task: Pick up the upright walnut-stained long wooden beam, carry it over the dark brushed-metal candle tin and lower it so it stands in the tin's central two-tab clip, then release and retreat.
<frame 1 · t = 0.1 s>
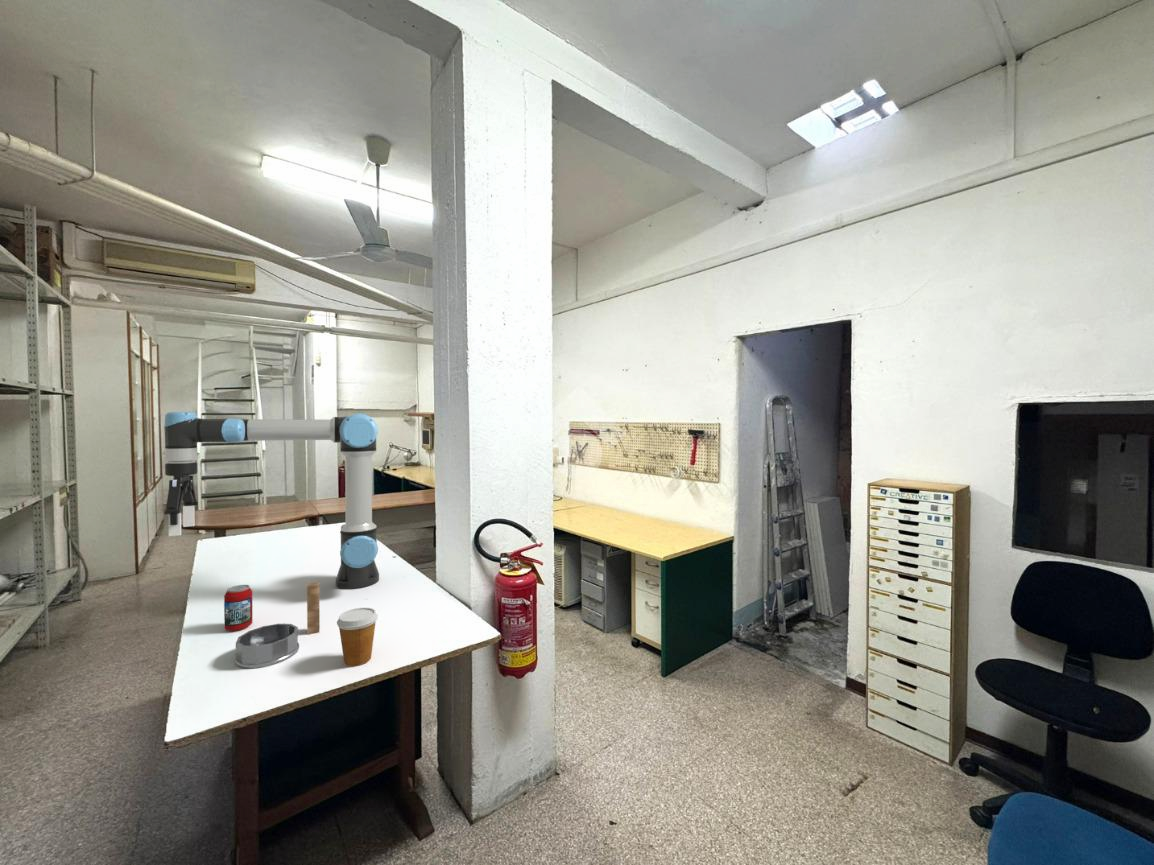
hand: (182, 530, 140), 28 cm above the table, fingers open, 13 cm apart
beverage can: (238, 628, 136), on the table
disposable coffee cup: (357, 660, 117), on the table
tin: (268, 654, 120), on the table
long wooden beam: (313, 631, 133), on the table
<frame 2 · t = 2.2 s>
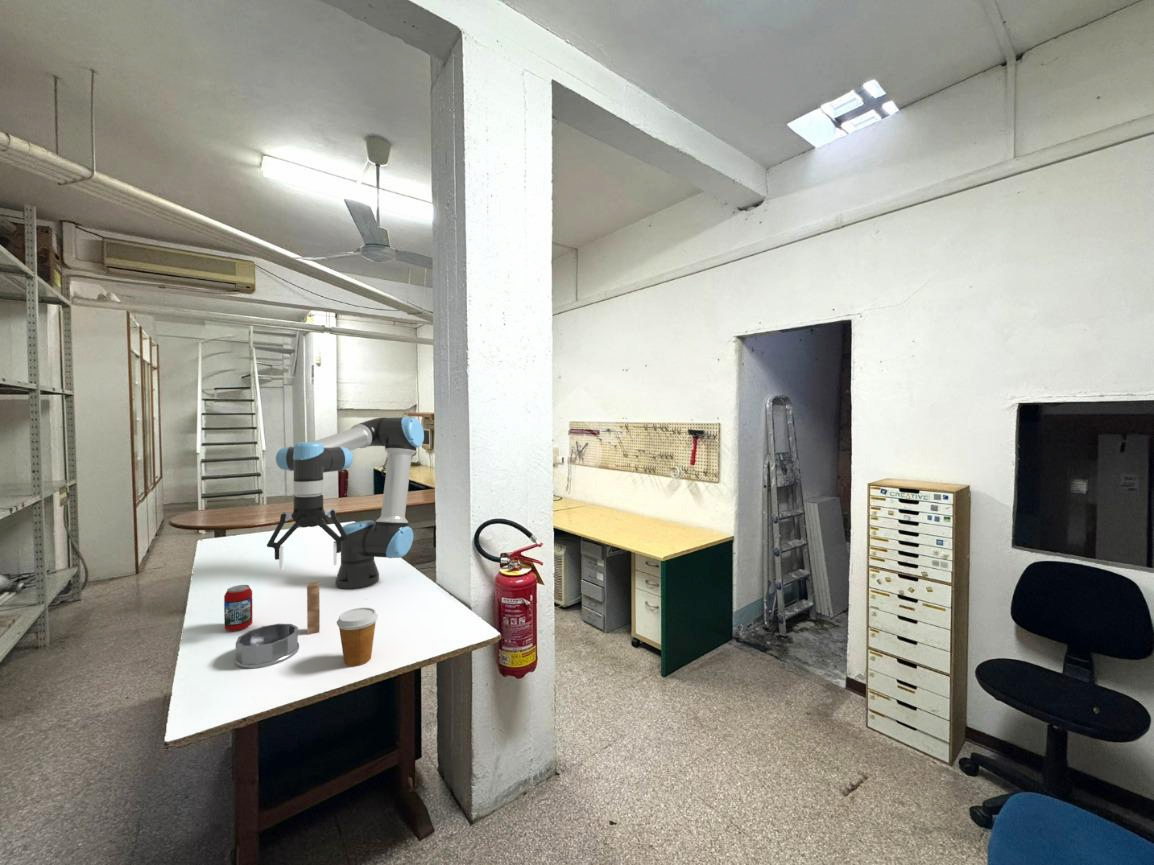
hand: (308, 567, 133), 19 cm above the table, fingers open, 13 cm apart
nothing on the table moved.
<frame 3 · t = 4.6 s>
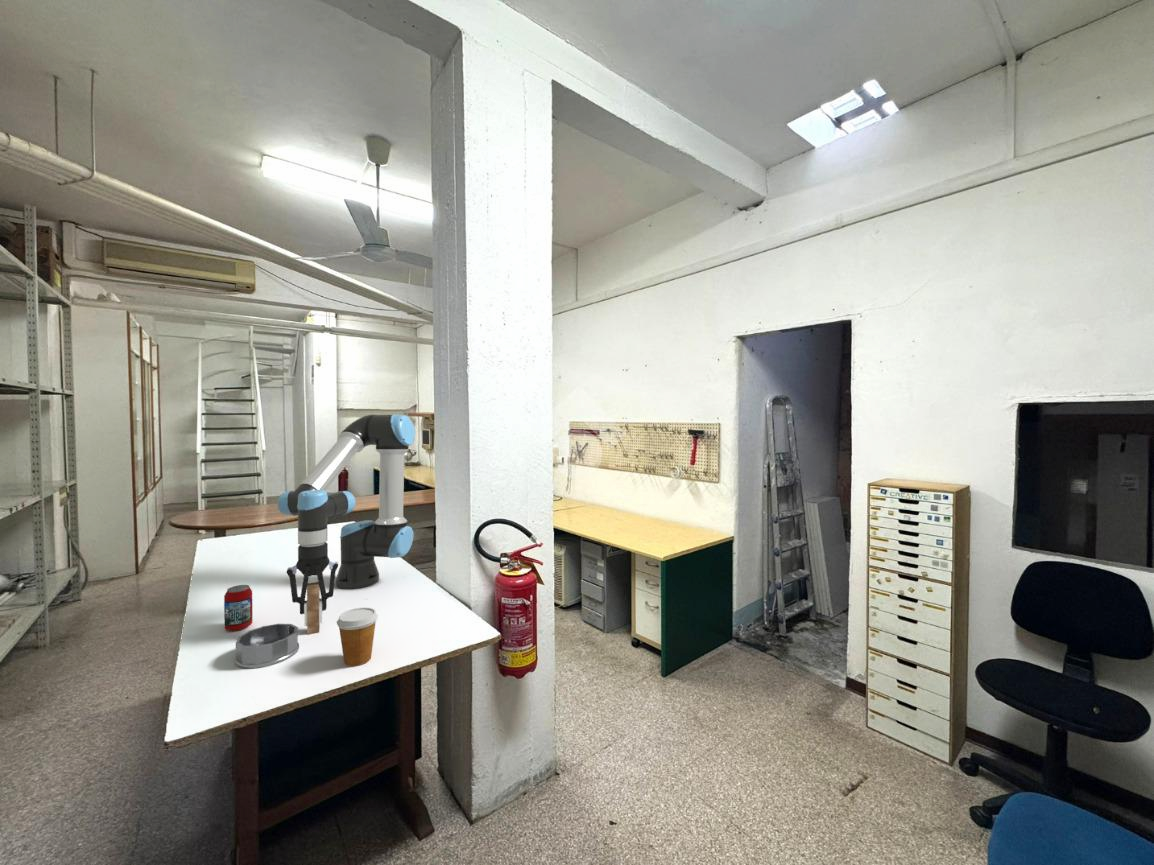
hand: (313, 622, 133), 3 cm above the table, fingers closed on long wooden beam, 3 cm apart
long wooden beam: (313, 631, 133), on the table, touching gripper
everything else where it was.
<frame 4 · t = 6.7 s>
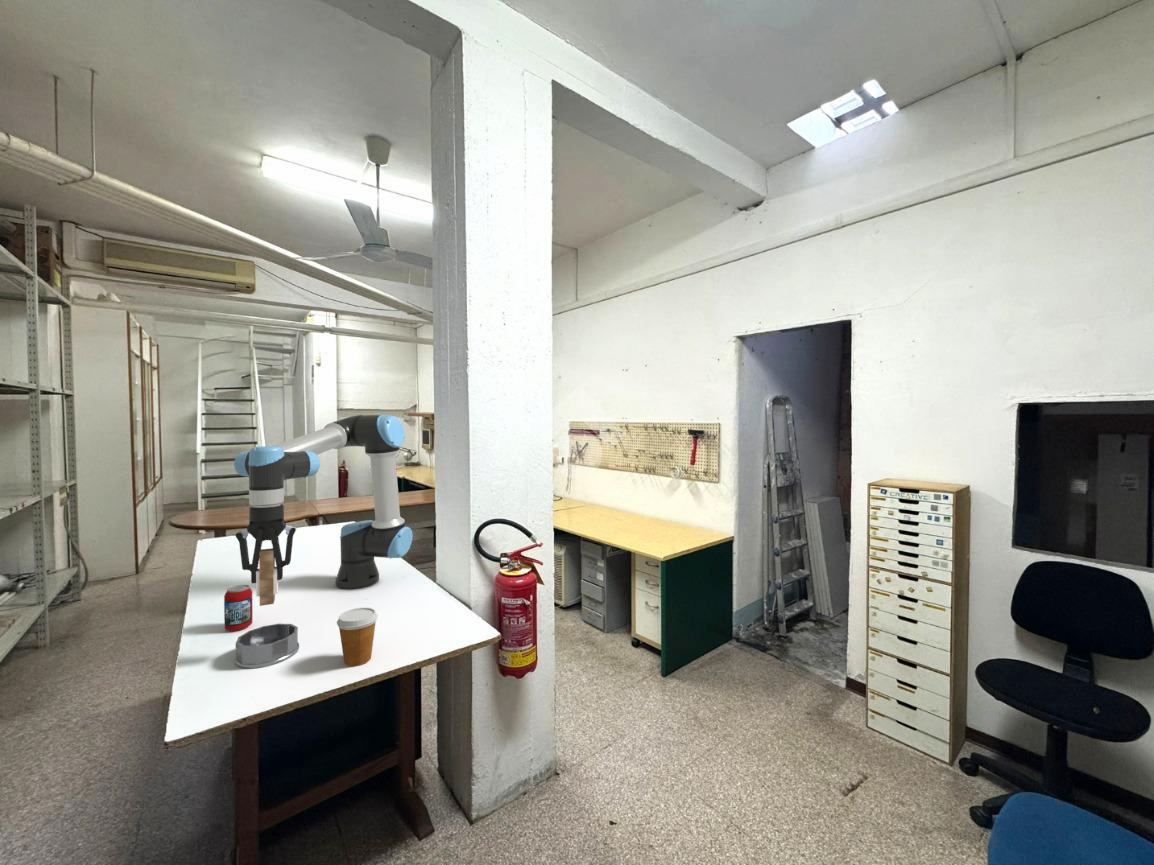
hand: (267, 593, 120), 16 cm above the table, fingers closed on long wooden beam, 3 cm apart
long wooden beam: (267, 602, 120), point 14 cm above the table, touching gripper
everything else where it was.
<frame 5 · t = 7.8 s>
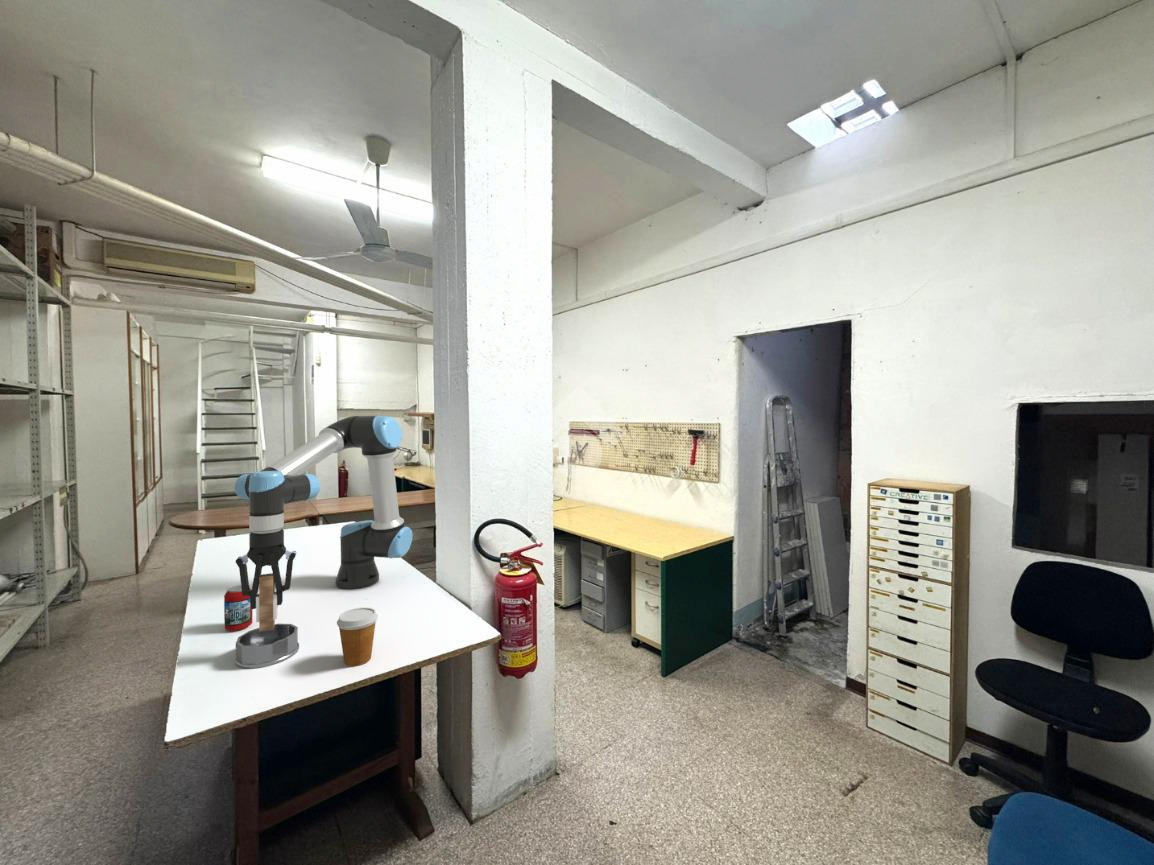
hand: (267, 618, 120), 10 cm above the table, fingers closed on long wooden beam, 3 cm apart
long wooden beam: (267, 628, 120), point 7 cm above the table, touching gripper
everything else where it was.
when the fingers open (5 cm above the table, at t = 8.8 s): long wooden beam drops 2 cm, resting on tin.
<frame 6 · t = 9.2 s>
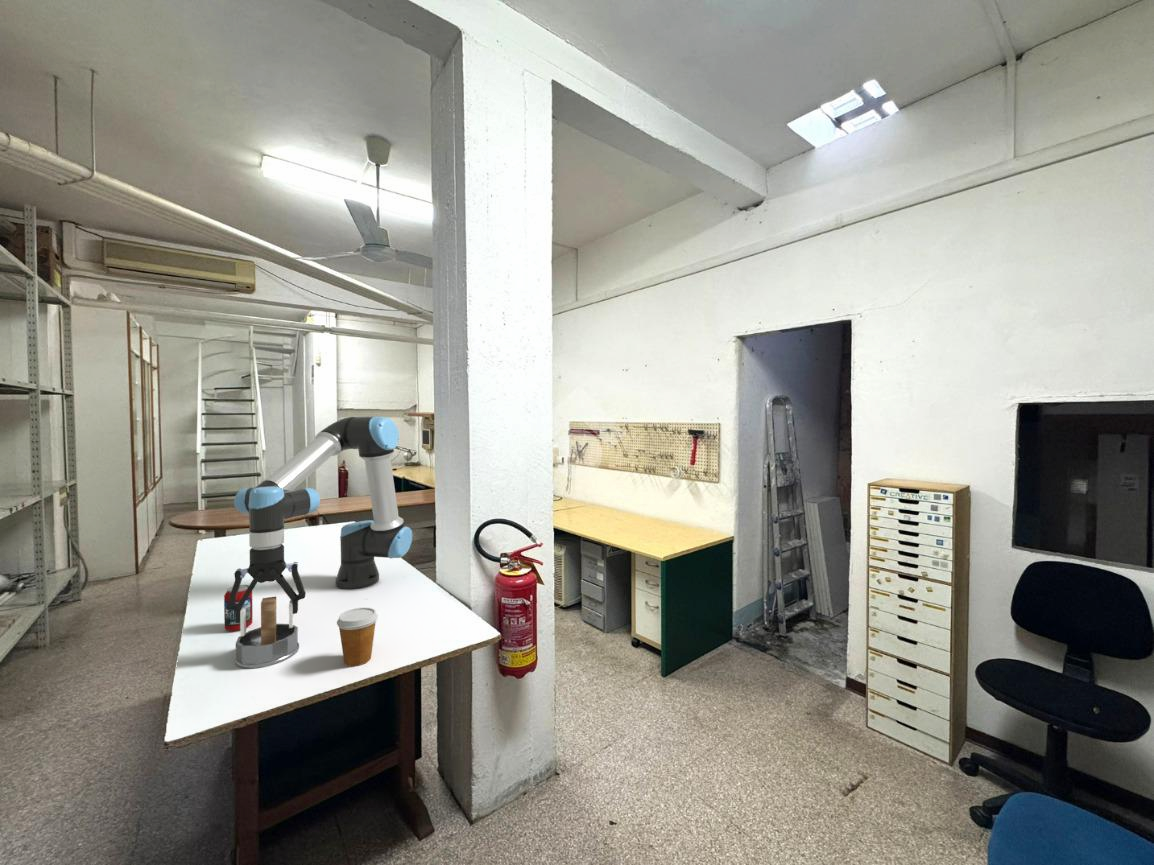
hand: (267, 629, 120), 7 cm above the table, fingers open, 10 cm apart
long wooden beam: (268, 650, 120), point 1 cm above the table, touching tin
everything else where it was.
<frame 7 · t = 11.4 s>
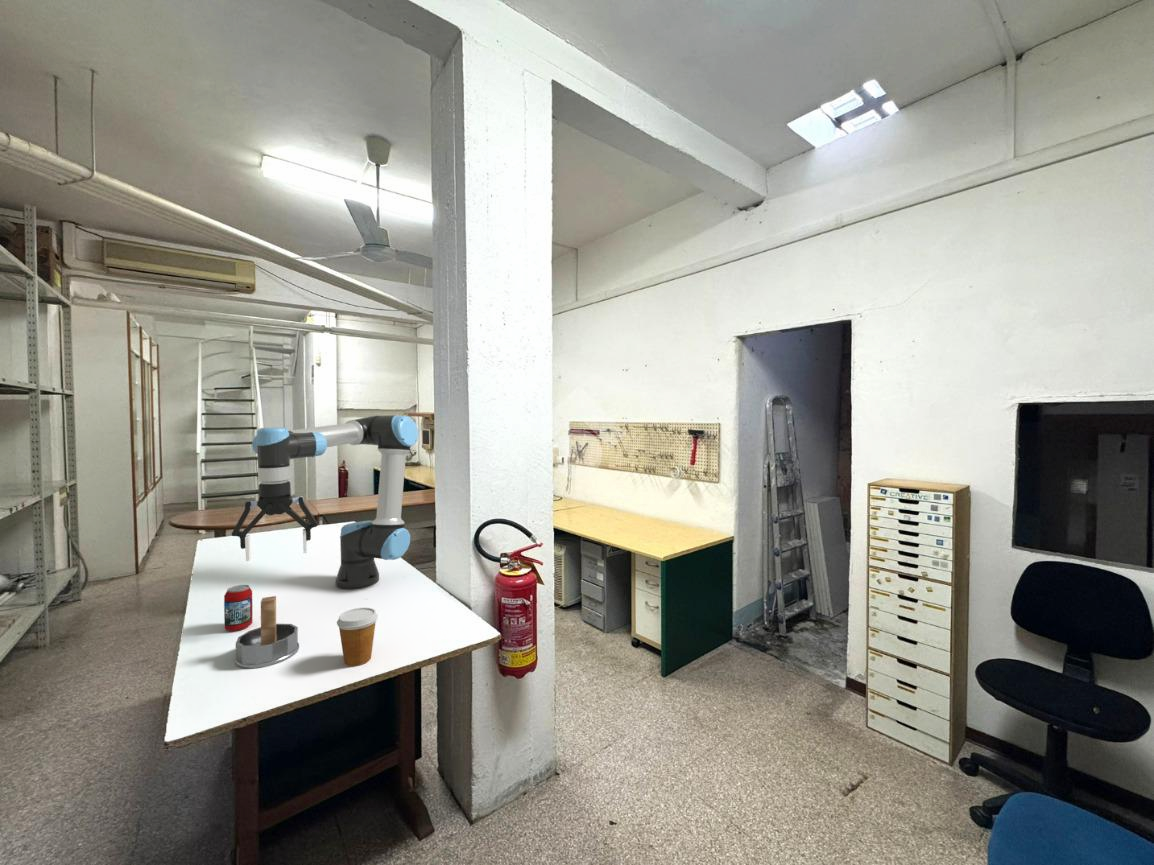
hand: (277, 555, 130), 23 cm above the table, fingers open, 13 cm apart
nothing on the table moved.
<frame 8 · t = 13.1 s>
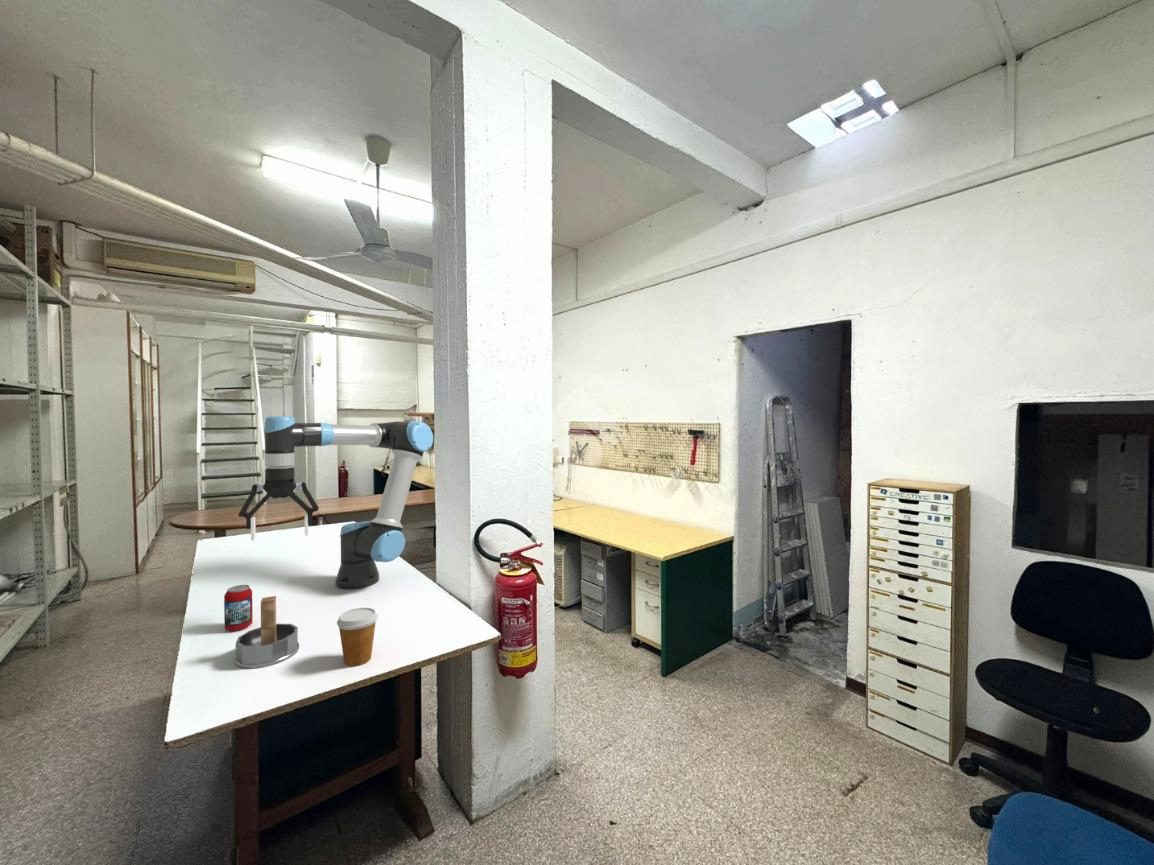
hand: (280, 537, 138), 27 cm above the table, fingers open, 13 cm apart
nothing on the table moved.
at the end: long wooden beam 0.2 cm off-centre on the tin, point 0.8 cm above the tin's base; long wooden beam tilted 0°; the gripper is holding nothing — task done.
